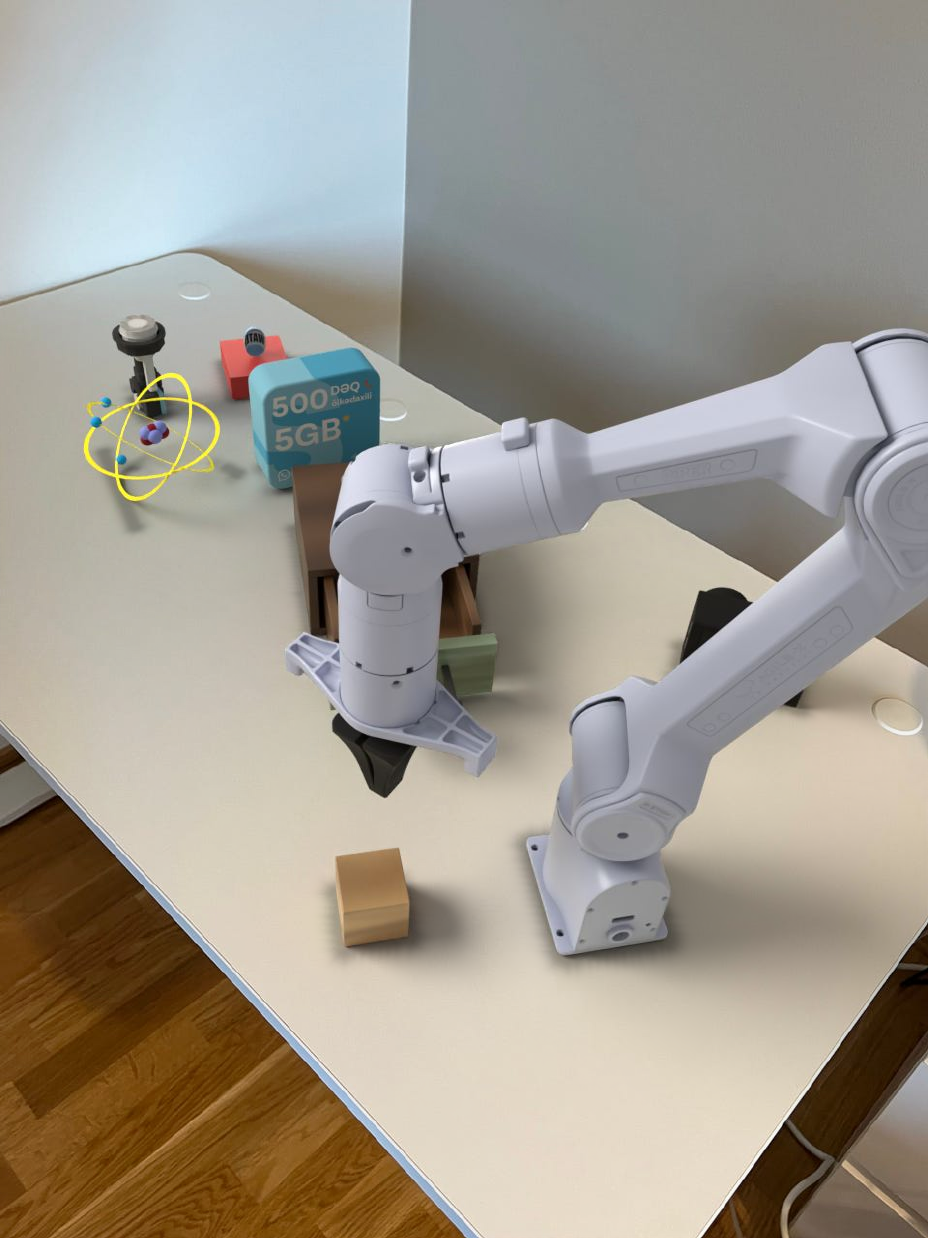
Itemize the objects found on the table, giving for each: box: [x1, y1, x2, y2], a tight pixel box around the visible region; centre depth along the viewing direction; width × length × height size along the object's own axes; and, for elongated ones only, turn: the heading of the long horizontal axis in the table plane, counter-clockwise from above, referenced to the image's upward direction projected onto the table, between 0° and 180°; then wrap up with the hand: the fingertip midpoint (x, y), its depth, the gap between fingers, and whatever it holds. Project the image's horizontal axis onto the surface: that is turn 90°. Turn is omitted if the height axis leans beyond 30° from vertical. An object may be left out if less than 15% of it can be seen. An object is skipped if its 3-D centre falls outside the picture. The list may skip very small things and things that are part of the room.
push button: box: [111, 314, 167, 419], centre depth 114 cm, size 7×5×10 cm
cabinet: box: [291, 462, 481, 636], centre depth 97 cm, size 15×15×8 cm
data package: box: [248, 346, 381, 490], centre depth 107 cm, size 12×4×12 cm, turn 116°
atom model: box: [83, 372, 221, 502], centre depth 104 cm, size 14×15×14 cm
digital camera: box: [678, 586, 805, 708], centre depth 91 cm, size 10×5×7 cm, turn 74°
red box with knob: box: [219, 326, 288, 401], centre depth 120 cm, size 8×7×6 cm
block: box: [334, 847, 411, 947], centre depth 73 cm, size 4×4×4 cm
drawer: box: [320, 564, 498, 711], centre depth 88 cm, size 19×13×6 cm
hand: (386, 784), depth 71 cm, fingers closed
